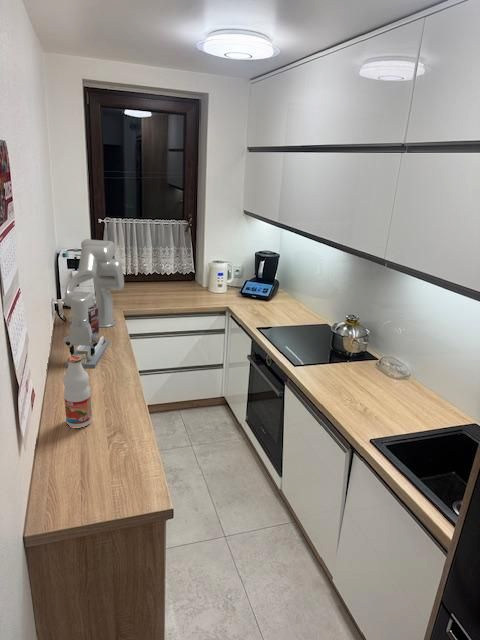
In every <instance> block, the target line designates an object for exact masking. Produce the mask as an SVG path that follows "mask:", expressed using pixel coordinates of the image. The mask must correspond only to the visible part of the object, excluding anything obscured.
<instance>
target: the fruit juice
mask: <svg viewBox="0 0 480 640" xmlns="http://www.w3.org/2000/svg"><path fill="white" fill-rule="evenodd" d="M67 361H68V363H69V365H68V367H67V369H66V372H65V373H64V375H63V379H62V381H63V382H62V383H63V385H64V389H63V390H64V391H63V397H64V409H65V420H66V421H65V422H66V425H67V424H68V425H69V426H71V427H83V426H86V425H88V424H90V425H91V423H92V422H91V421H93V415H92V413H93V412H92V411H93V410H92V401H91V400H92V398H91V397H92V396H91V389H90V385H89V382H90V377H89V374H88V372H87V371H86V370H85V368H83V367H82V364H81V362H82V358H81V356H79V355H72V356H71V355H70V356H68V357H67ZM67 361H66V362H67ZM68 425H67V426H68ZM69 426H68V427H69ZM88 426H89V425H88Z"/></svg>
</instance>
